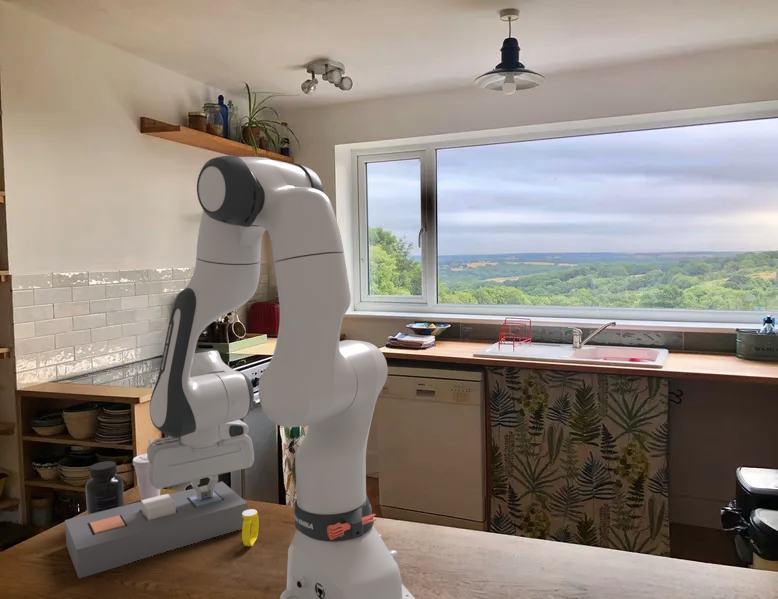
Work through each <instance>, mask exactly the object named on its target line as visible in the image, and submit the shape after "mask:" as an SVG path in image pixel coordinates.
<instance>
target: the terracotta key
mask: <svg viewBox="0 0 778 599" xmlns="http://www.w3.org/2000/svg"><path fill="white" fill-rule="evenodd" d="M122 527H125V524H124V522H123V521H122V519H121V517H120V516H119V515H118V516H114V517H110V518H106V519H102V520H99V521H95V522H91V523H90V531H91V533H92V535H96V534H100V533H103V532H107V531H111V530H115V529H118V528H122Z"/></svg>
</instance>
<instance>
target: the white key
mask: <svg viewBox="0 0 778 599" xmlns="http://www.w3.org/2000/svg"><path fill="white" fill-rule="evenodd" d="M140 502H141V508H142V515H143V517H144V518H145V519H146V521H148V520H152V519H156V518H160V517H163V516H167V515H171V514H175V513H176V506H175V501H174V500H173V499H172V498H171V497H170V496H169V493H165V494H160V496H157V497H153V498H148V499H144V500H141V499H140Z"/></svg>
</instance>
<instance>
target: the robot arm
mask: <svg viewBox="0 0 778 599" xmlns="http://www.w3.org/2000/svg"><path fill="white" fill-rule="evenodd" d="M196 195H197V200H198V202H199V205H200V207H201V208H202V210H203V211H202V214H201V219H200V224H199V229H198V234H197V241H196V242H197V243H196V255H195V256H196V258H195V266H194V270H193V273H192V275H191V278H190V280H189V282H188V284H187V285H186V287H185V288H184V289H182V290H181V291H180V292H179V293H177V295H176V298H175V299H174V301H173V302H174V303H173V305H172V306H173V307H172V309H171V312H170V313H171V314H170V318H169V322H168V327H167V333H166V337H165V341H164V346H163V352H162V355H161V362H160V367H159V371H158V376H157V379H156V382H155V384H154V388H153V390H152V393H151V396H150V400H149V416H150V420H151V423H152V425H153V426H154V428H156V429H157V430H158V431H159V432H161V433H163V434H164V435H166V437H160V438H156V439H155V440H154V441H151V444H150V445H149V444H148V446H147V449H146V454H147V458H148V461H149V462H150V464H149V482H150V484H151V485H152V486H153V487H155V488H156V489H160V490H161V489H165V488H169V487H172V486H176V485H177V486H178V485H181V484H185V483H189V484H190V485H191V487H192V489H193V488H194V489H195V490H196V498H197V500H198V501H200V500H203V499H208V498H212V497H213V489H214V487H215V485H216V483H218V482H219V475H223V474H227V473H232V472H236V471H240V470H245V469H249V468H251V467H252V466H253V464H254V462H255V451H254V445H253V441H252V438H251V437H250V436H249V435H248V434H249V425H248V424H247V423H245V422H244V421H242V419H244V418H246V417H247V416H248V415H249V413H250V412H251V410H252V407H253V404H254V400H255V394H254V393H255V390H254V387H253V383H252V381H251V379H249V377H248V376H247V375H245V373H243V372H242V371H240V370H235V369H233V368H232V367H230V366H229V365H228V364H226V363H225V362H224V361H223V359H222V358H221V355H220V352H219V351H218V350H217V349H213V348H208V349H200V350H199V349H198V350H196V347H197V343H198V340H199V337H200V335H201V334H202V333H203V331H204V330H205V329H206V328H207V327H209V326H210V325H211V324H212V323H213V322H215V321H216V320H219V319H221V318H222V317H223V316H226V315H227V314H229V313H232V312H233V311H236V310H238V309H239V308H241V307H242V306H244V305H245V304H247V303H248V302H249V301H250V299H252V298H253V296H254V295H255V293H256V292H257V289H258V287H259V286H258V285H259V283H260V282H259V281H260V276H261V275H260V274H261V259H262V258H261V256H262V255H261V254H262V253H261V252H262V250H261V249H262V238H263V235H264V234H265V232H266V231H267V233H268V235H269V238H270V243H271V249H272V251H271V252H272V258H273V264H274V272H275V280H276V287H277V294H278V295H277V296H278V303H279V325H278V331H277V332H278V333H277V339H276V342H275V343H276V344H275V347H274V351H273V355H272V357H271V359H270V362H269V363H268V364H267V366H266V367H265V369H264V370H263V372H262V374H261V376H260V378H259V383H258V390H257V392H258V399H259V403H260V406H261V408H262V410H263V412H264V413H265V415H266V416H267V417H268V418H269V420H270V421H271V422H273V423H274V424H276V425H278V426H280V427H282V428H299V427H308V429H307V431H306V433H305V436H304V438H303V439H302V441H301V442H300V444H299V445H298V447H297V451H296V453H295V460H294V463H295V487H296V488H295V492H296V494H295V495H296V499H295V500H294V507H293V518H294V519H293V520H294V523H293V524H294V527H295V528H296V529H295V533H294V536H293V538H292V540H291V542H290V545H289V546H288V550H287V567H286V570H287V571H286V573H287V574H286V588H285V589H284V591H282V593H281V594H280V596H279V599H416V598H415V597H414V595H412V593H411V592H410V591H409V590H408V589H407V587H406V586H405V585H404V584H403V583H402V576H401V575H402V574H401V572H400V568H399V566H398V565H399V561H400V560H399V559H400V558H399V554H398V552H397V550H395V549H392V550H391V549H390V550H389V549H388V547H387V545H386V544H385V542H384V540H383V536H382V534H380V533H379V532H378V530H376V528H375V525H374V523H375V521H376V519H375V518H374V517H376V515H377V514H376V513H373V512H372V510H373V509H372V505H371V503H370V499H369V496H368V495H367V482H366V481H367V474H366V473H367V472H366V471H367V469H366V468H367V467H366V463H367V462H366V461H367V460H366V458H367V446H368V441H369V440H368V439H369V435H370V430H371V429H370V428H371V425H372V424H371V423H372V420H373V417H374V416H373V414H374V412H375V407H376V404H377V400H378V398H379V396H380V393H381V391H382V389H383V387H384V386H385V384H386V382H387V380H388V379H387V378H388V373H389V369H388V368H389V367H388V364H387V363H388V362H387V360H386V357H385V356H384V354H383V352H382V351H381V349H380V348H378V346H376V345H374V344H372V343H371V342H368V341H363V340H353V339H345V340H341V339H340V337H341V329H342V323H343V320H344V317H345V315H346V313H347V312H348V310H349V308H350V306H351V301H352V296H351V288H350V284H349V278H348V269H347V264H346V262H347V261H346V257H345V256H346V255H345V251H344V246H343V240H342V236H341V232H340V228H339V224H338V221H337V218H336V214H335V211H334V207H333V205H332V202H331V200H330V198H329V197H328V195H327V194H325V193H324V187H323V184H322V181H321V179H320V178H319V175H318V174H317V173H316V172H315V171H314V170H312V169H311V168H309V167H306V166H304V165H302V164H299V163H295V162H291V163H289V162H284V161H281V160H275V159H270V158H269V157H261V156H237V155H234V154H231V155H220V156H217V157H213V158H211V159H209V160H208V161H206V162H205V163H204V165H203V166H202V168H201V169H200V171H199V174H198V177H197V182H196ZM206 478H207V479H209V482H208V483H207V484H206V485H207V487H206V488H202V489H200V488H199V487H200V486H198V485H200V483H201V480H202V479H206Z"/></svg>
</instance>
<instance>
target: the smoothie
mask: <svg viewBox="0 0 778 599" xmlns="http://www.w3.org/2000/svg"><path fill="white" fill-rule="evenodd" d="M147 442H148V446H149V445H150V444H151V443H152V438H151V437H148V439H147ZM149 464H150V462H149V461H148V458H147V453H143V454H142V453H141V454H139V455H137V456H134V457H133V459H132V465H133V467H134V469H135V475H136V480H137V485H138V491H139V495H140V496H139V497H140V501H141V500H144V499H148V498H153V497H157V496H161V489H156V488H155V487H153V486H152V485H151V484H150V482H149Z"/></svg>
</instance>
